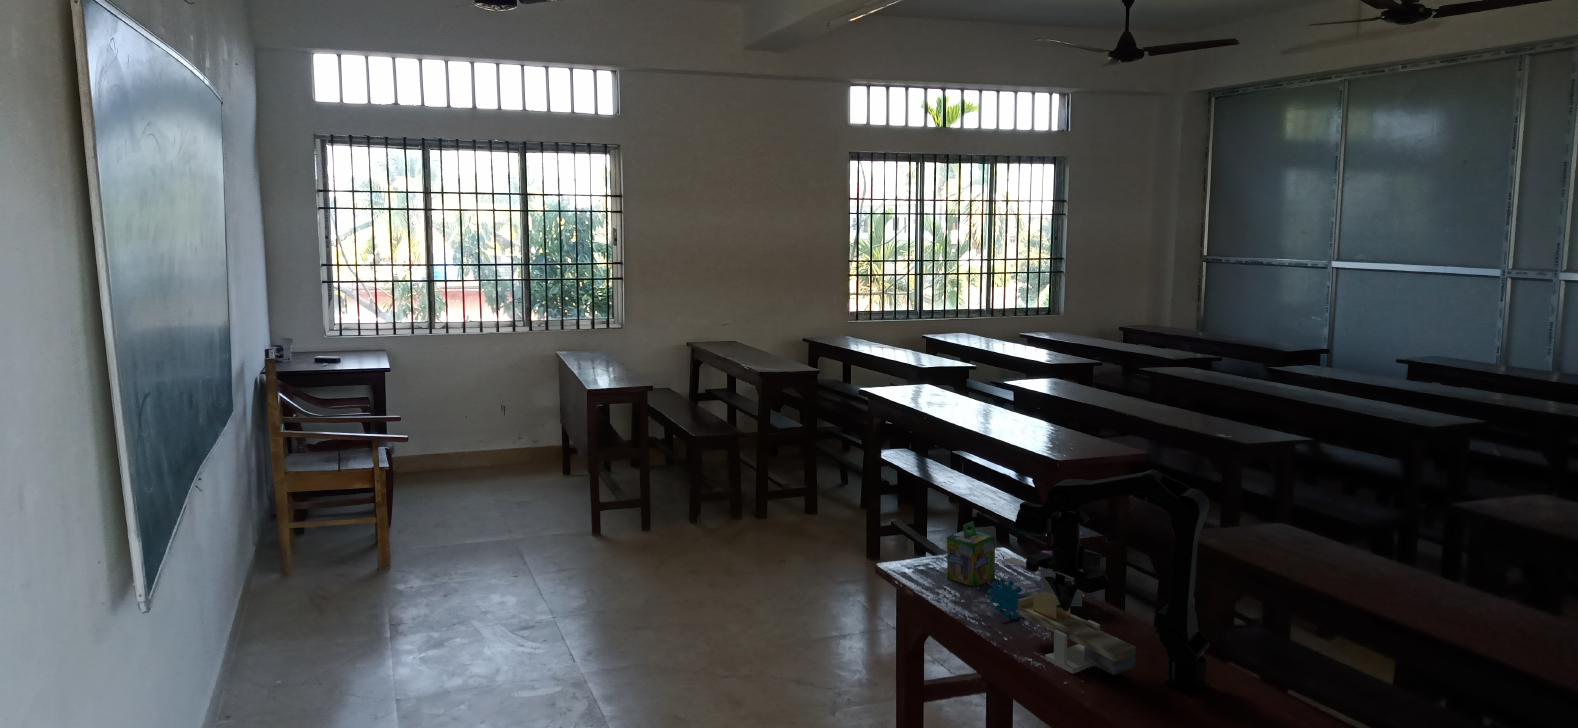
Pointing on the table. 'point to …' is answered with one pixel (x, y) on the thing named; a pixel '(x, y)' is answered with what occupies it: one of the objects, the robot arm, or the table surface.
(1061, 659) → the pivot stand
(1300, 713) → the table surface
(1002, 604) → the gear
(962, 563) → the chalk box
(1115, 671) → the seesaw beam
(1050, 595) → the beige rectangular block
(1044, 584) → the ink cartridge box
